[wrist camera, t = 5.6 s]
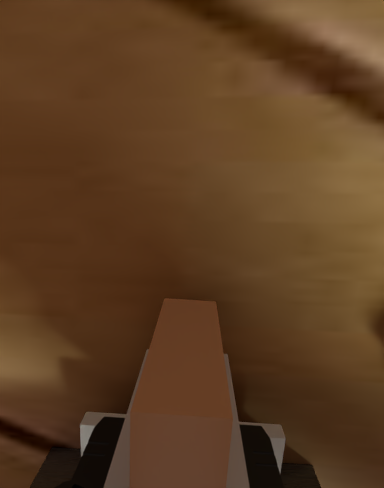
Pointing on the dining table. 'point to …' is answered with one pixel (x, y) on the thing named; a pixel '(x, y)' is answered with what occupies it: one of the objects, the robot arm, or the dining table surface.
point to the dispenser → (66, 460)
